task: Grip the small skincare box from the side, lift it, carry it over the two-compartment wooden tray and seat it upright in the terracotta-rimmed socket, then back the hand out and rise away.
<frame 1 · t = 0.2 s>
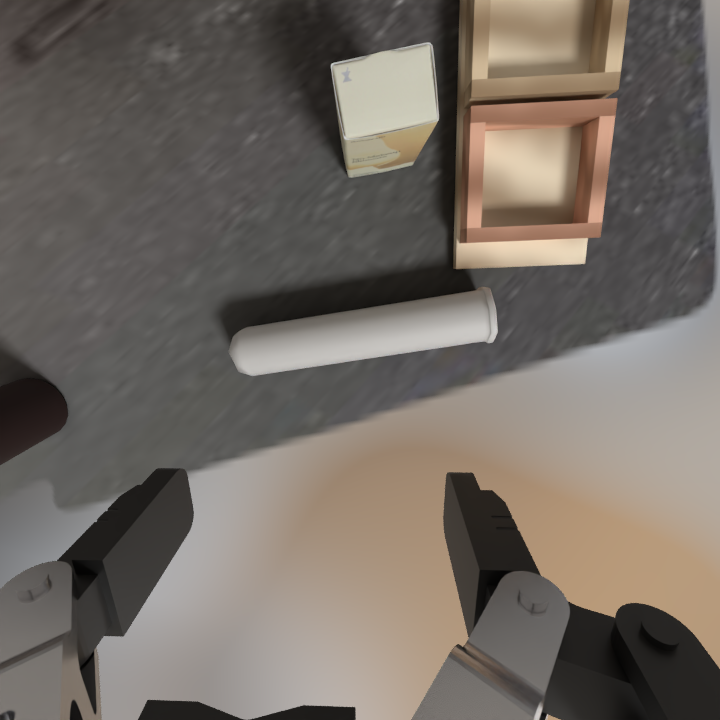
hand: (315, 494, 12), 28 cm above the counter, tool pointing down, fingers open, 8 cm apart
vinegar: (40, 405, 42), on the counter
two-compartment wooden tray: (525, 114, 34), on the counter
skincare box: (378, 147, 35), on the counter
tube: (354, 311, 38), point 1 cm above the counter
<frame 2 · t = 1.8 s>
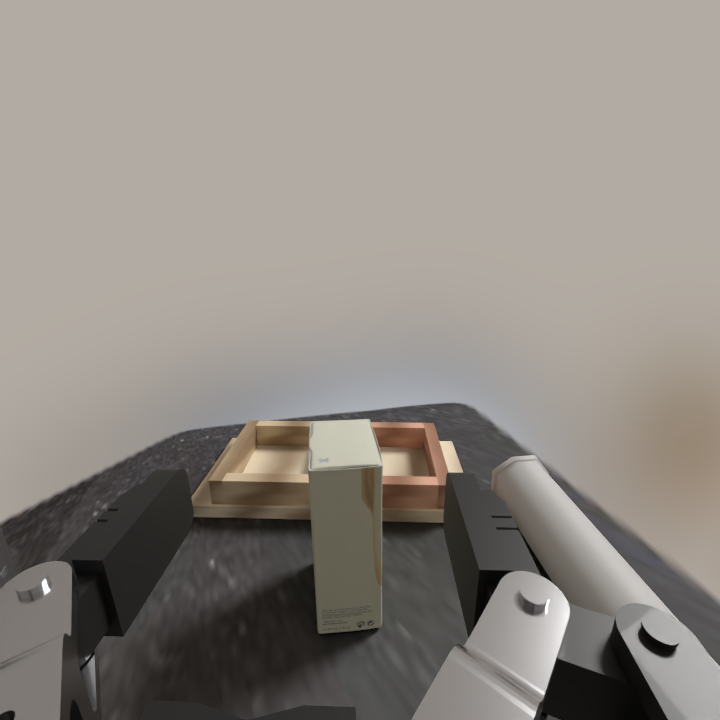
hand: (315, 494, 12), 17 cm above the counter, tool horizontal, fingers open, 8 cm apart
two-compartment wooden tray: (336, 479, 40), on the counter
skincare box: (346, 592, 28), on the counter
tube: (576, 626, 24), point 1 cm above the counter
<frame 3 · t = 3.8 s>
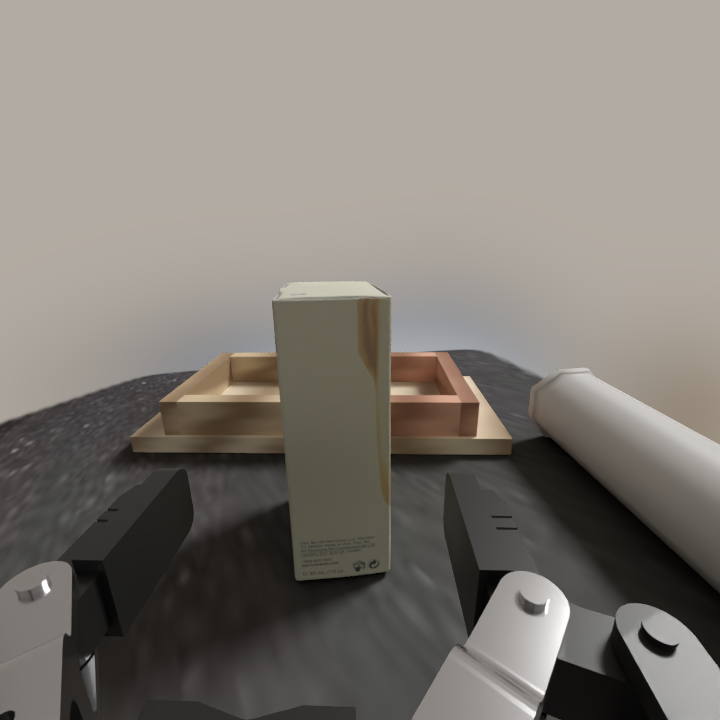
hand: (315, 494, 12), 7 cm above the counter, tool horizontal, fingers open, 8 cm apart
two-compartment wooden tray: (328, 414, 32), on the counter
skincare box: (339, 531, 20), on the counter
tube: (683, 564, 16), point 1 cm above the counter
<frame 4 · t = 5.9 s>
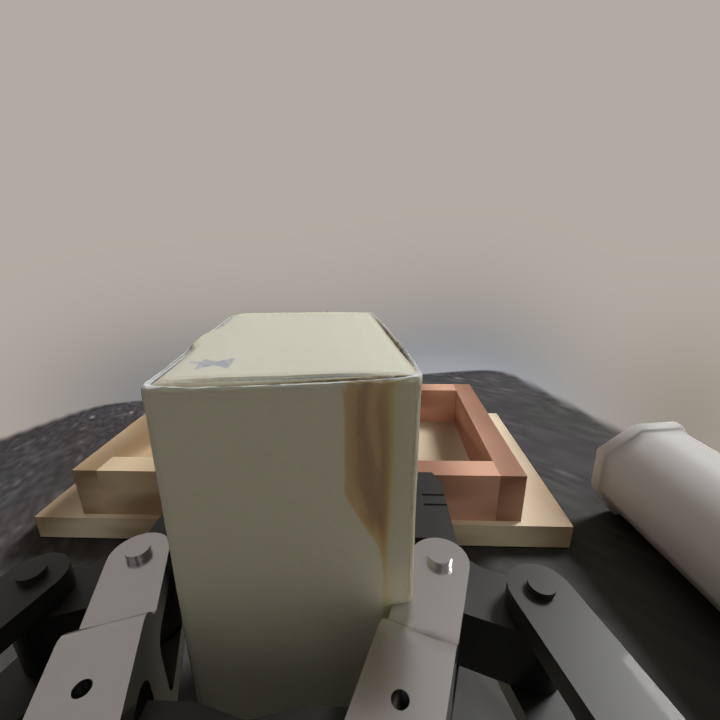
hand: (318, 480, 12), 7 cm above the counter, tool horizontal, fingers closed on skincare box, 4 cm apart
two-compartment wooden tray: (315, 470, 24), on the counter
skincare box: (317, 716, 12), on the counter, touching gripper
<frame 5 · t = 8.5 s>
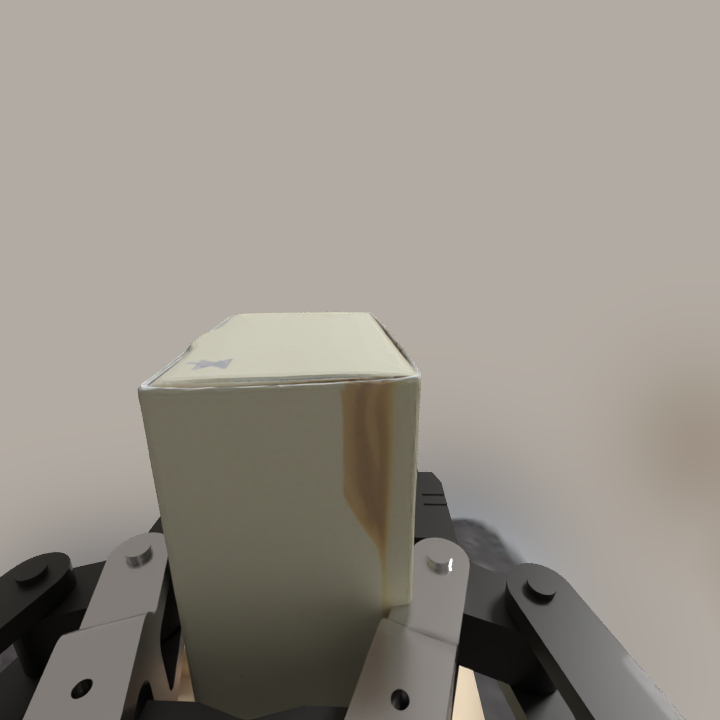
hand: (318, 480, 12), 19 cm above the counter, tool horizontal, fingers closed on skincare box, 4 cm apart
skincare box: (317, 717, 12), point 12 cm above the counter, touching gripper
when the fingers open (9 cm above the counter, at t = 11.0 s): skincare box drops 1 cm, resting on two-compartment wooden tray.
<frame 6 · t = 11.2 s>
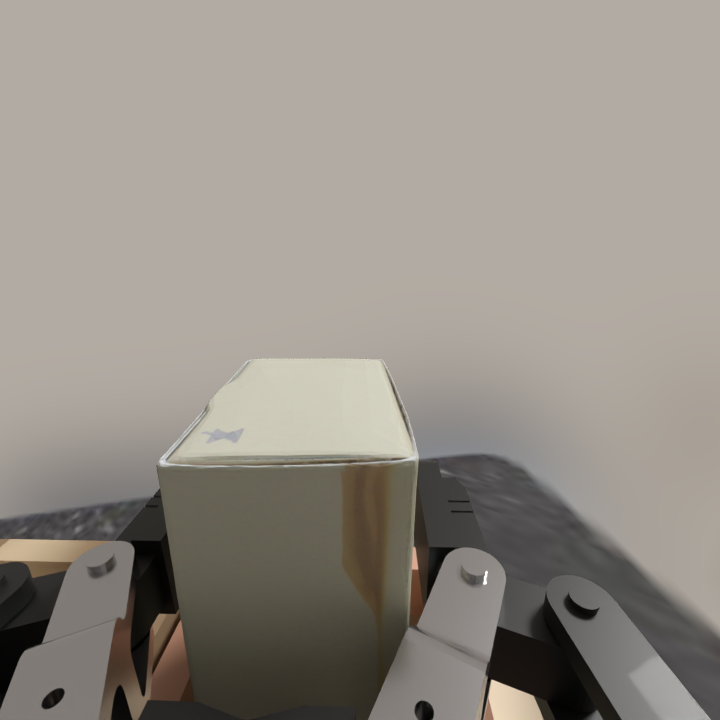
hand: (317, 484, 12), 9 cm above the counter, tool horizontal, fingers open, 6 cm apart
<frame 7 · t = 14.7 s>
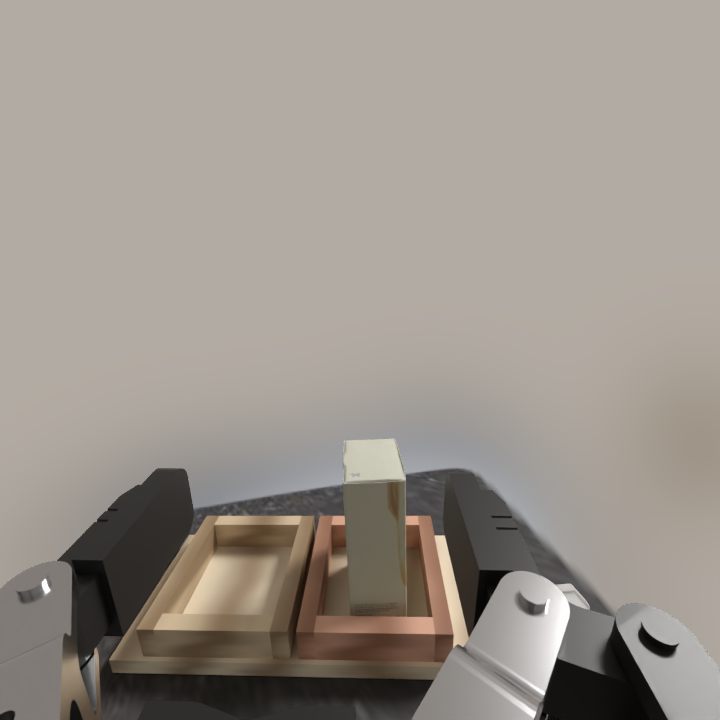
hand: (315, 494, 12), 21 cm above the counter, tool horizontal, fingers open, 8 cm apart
two-compartment wooden tray: (309, 599, 32), on the counter
skincare box: (376, 592, 31), point 1 cm above the counter, touching two-compartment wooden tray
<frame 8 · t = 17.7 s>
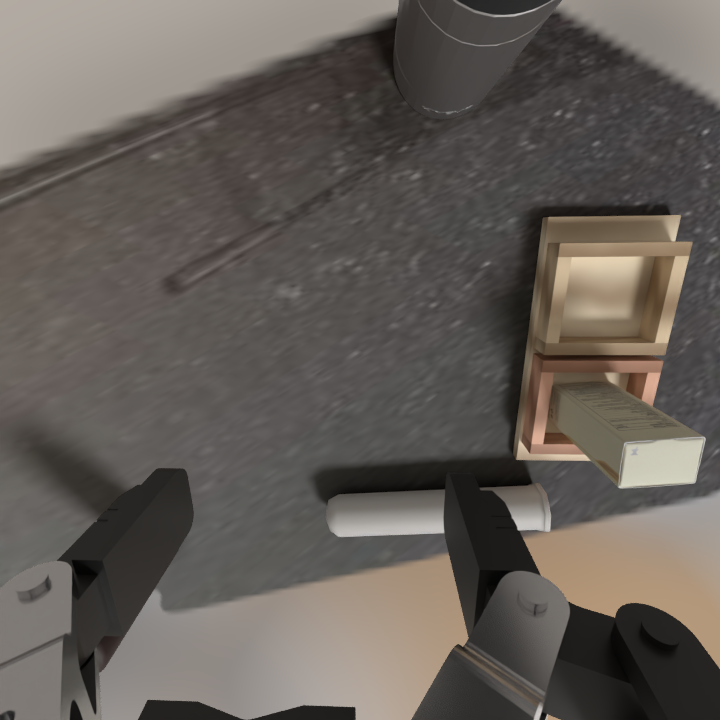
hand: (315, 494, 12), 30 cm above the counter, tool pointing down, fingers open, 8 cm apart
vinegar: (157, 535, 51), on the counter
two-compartment wooden tray: (583, 347, 41), on the counter
skincare box: (578, 399, 41), point 1 cm above the counter, touching two-compartment wooden tray
tube: (428, 487, 46), point 1 cm above the counter
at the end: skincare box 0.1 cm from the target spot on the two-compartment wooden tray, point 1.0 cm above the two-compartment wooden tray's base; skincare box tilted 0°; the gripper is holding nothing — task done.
